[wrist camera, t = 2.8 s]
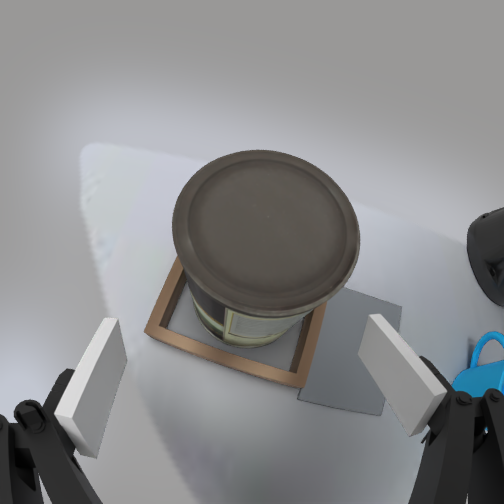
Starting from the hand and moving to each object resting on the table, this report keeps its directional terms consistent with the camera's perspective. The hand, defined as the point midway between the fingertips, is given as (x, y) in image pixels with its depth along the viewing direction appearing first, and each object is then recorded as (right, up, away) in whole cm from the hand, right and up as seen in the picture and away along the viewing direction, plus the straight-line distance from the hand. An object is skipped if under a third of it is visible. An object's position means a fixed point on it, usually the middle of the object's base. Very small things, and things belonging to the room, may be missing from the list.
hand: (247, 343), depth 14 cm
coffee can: (0, 0, +14) cm, 14 cm away
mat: (+10, -5, +12) cm, 17 cm away
